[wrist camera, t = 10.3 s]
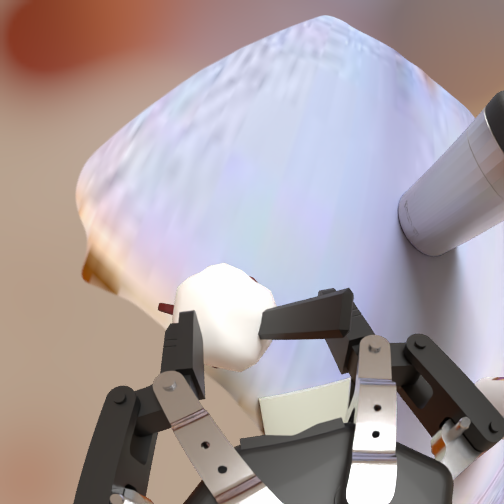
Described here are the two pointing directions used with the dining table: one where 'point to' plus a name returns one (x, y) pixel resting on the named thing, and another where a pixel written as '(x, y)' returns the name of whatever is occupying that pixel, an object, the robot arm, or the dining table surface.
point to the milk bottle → (493, 391)
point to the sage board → (304, 408)
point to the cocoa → (253, 316)
